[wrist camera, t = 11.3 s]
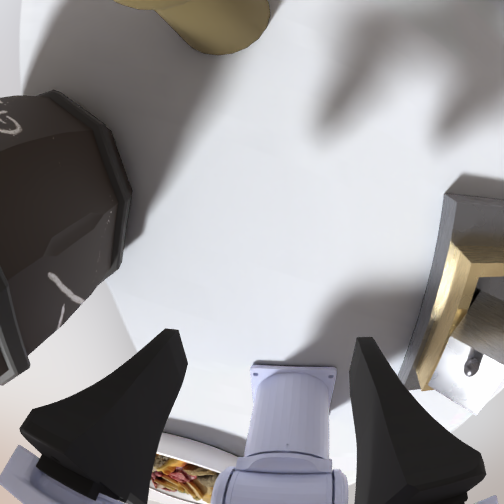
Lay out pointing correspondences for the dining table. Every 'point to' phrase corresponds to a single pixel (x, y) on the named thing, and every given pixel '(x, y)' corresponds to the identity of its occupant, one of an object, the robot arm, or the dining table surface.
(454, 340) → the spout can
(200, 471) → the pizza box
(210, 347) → the dining table surface
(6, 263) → the barrel
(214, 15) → the pepper shaker
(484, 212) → the wooden cabinet body
